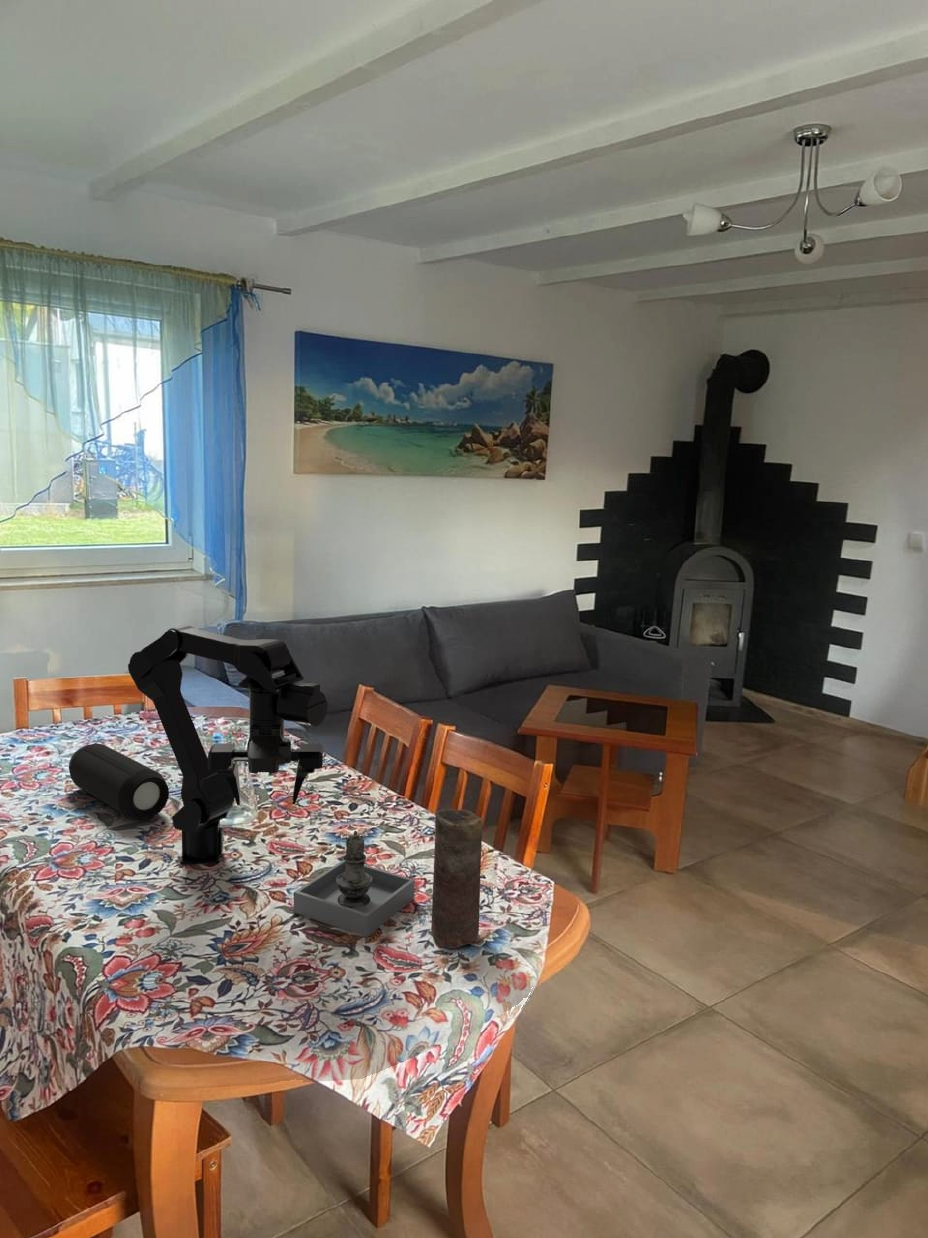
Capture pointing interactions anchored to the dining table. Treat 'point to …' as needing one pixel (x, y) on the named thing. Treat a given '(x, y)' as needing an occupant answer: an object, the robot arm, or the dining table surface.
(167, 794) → the portable speaker
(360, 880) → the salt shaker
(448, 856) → the candle
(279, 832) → the dining table surface
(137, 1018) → the dining table surface
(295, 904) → the tray
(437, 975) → the dining table surface
